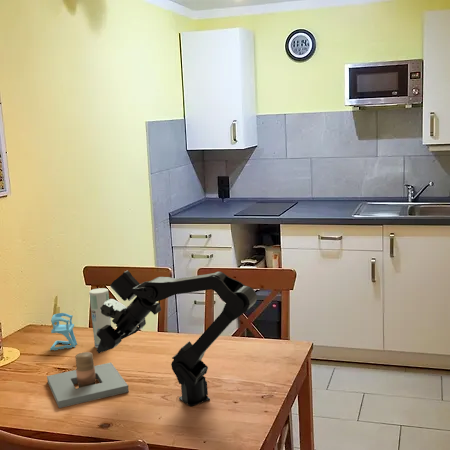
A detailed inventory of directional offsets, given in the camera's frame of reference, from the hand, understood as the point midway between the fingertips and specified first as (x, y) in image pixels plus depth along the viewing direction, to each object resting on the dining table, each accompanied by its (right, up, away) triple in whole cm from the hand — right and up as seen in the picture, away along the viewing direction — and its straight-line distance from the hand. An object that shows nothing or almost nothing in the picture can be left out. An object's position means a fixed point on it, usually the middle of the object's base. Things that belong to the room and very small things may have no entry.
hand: (106, 346), depth 183 cm
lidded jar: (-7, -13, +5) cm, 16 cm away
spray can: (-8, -7, +39) cm, 41 cm away
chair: (-22, -8, +40) cm, 47 cm away
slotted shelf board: (-7, -13, +5) cm, 16 cm away
